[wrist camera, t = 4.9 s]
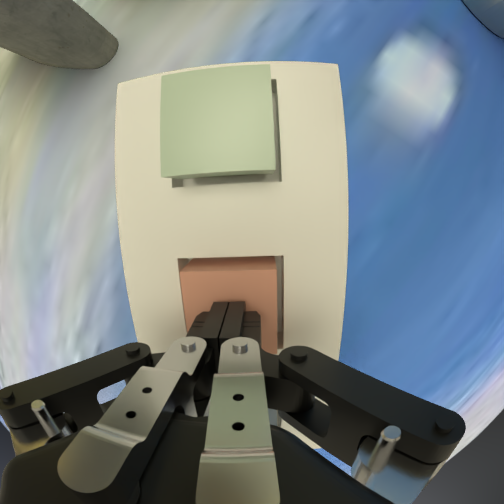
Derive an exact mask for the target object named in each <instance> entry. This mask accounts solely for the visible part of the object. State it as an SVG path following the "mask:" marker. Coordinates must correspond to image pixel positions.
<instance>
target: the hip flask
mask: <svg viewBox="0 0 504 504" xmlns="http://www.w3.org/2000/svg"><path fill="white" fill-rule="evenodd" d="M0 47H2V48H4V49H7V50H9V51H12V52H14V53H17V54H19V55H21V56H24V57H26V58H28V59H31V60H33V61H35V62H38V63H41V64H45V65H50V66H54V67H61V68H72V69H96V68H100V67H102V66H104V65H105V64H107V63H108V62H109V61H110V60H111V59H112V58H113V56H114V55H115V53H116V51H117V49H118V41H117V39H116V38H115V37H114V36H113V35H112V34H111V33H110V32H108V31H107V30H106V29H105V28H104V27H103V26H102V25H101V24H99V23H98V22H97V21H96V20H95V19H94V18H93V17H91V16H90V15H89V14H88V13H87V12H86V11H84V10H83V9H82V8H81V7H80V6H79V5H77V4H76V3H75V2H74V1H73V0H0Z"/></svg>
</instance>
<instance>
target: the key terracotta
mask: <svg viewBox="0 0 504 504" xmlns="http://www.w3.org/2000/svg"><path fill="white" fill-rule="evenodd" d="M180 281H181V290H182V298H183V305H184V313H185V320H186V327H187V333H188V331H189V329H190V327H191V325H192V323H193V321H194V319H195V317H196V316H197V315H199V314H200V313H201V312H203V311H206V312H209V311H210V309H211V306H212V304H213V302H229V303H230V302H235V301H245V303H246V311H257V312H258V313H259V315H260V316H261V343H262V344H261V348H262V349H263V350H264V351H266V352H268V353H271V354H277V268H276V262H275V257H274V256H246V257H210V258H193V259H192V260H191V261H190V262H189V263H188V264H187V265H186V266H185V267H184V268H183V269H182V270H181V271H180Z"/></svg>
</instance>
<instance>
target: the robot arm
mask: <svg viewBox="0 0 504 504" xmlns="http://www.w3.org/2000/svg"><path fill="white" fill-rule="evenodd" d="M463 2H464V3H465V4H466V6H467V7H468V8H469V9H470V10H471V12H472V13H473V14H474V15H475V16H476V17H477V18H478V19H479V20H480V21H481V22H482V23H483V24H484V25H485V26H486V27H487V28H488V29H490V30H491V31H492V32H493V33H495V34H496V35H498V36H499V37H502V38H504V0H463ZM261 344H262V343H261V316H260V315H259V313H258V312H257V311H246V303H245V301H235V302H230V303H229V302H213V304H212V306H211V309H210V311H209V312H206V311H203V312H201V313H200V314H199V315H197V316H196V317H195V319H194V321H193V323H192V325H191V327H190V329H189V331H188V333H187V335H186V337H183V338H180V339H177V340H175V341H174V342H173V343H172V344H171V345H170V347H169V348H168V350H167V351H166V352H163V353H154V354H151V349H150V347H149V346H148V345H147V344H145V343H140V342H135V343H129V344H126V345H123V346H120V347H118V348H115V349H113V350H110V351H107V352H105V353H102V354H100V355H97V356H94V357H92V358H89V359H86V360H83V361H81V362H78V363H75V364H72V365H70V366H67V367H64V368H61V369H58V370H56V371H53V372H50V373H47V374H44V375H41V376H38V377H35V378H32V379H29V380H26V381H23V382H20V383H17V384H14V385H11V386H8V387H5V388H3V389H1V390H0V415H1V416H2V418H3V419H4V421H5V424H6V425H7V427H8V428H9V430H10V433H11V438H12V442H13V446H14V450H15V454H16V457H15V458H13V459H12V460H11V461H10V462H9V463H8V464H7V466H6V467H5V469H4V471H3V475H2V481H1V490H0V504H411V503H412V502H413V501H414V500H415V498H416V497H417V496H418V494H419V493H420V492H421V491H422V490H423V489H424V488H425V487H426V486H427V485H428V483H429V482H430V481H431V480H432V479H433V477H434V476H435V475H436V474H437V472H438V471H439V470H440V468H441V467H442V466H443V464H444V463H445V462H446V460H447V459H448V458H449V456H450V455H451V453H452V452H453V450H454V449H455V448H456V446H457V445H458V443H459V441H460V440H461V438H462V437H463V435H464V433H465V429H466V426H465V422H464V420H463V418H462V417H461V416H460V415H459V414H457V413H456V412H454V411H452V410H449V409H446V408H444V407H441V406H439V405H436V404H434V403H431V402H429V401H426V400H424V399H421V398H419V397H416V396H414V395H412V394H409V393H407V392H405V391H402V390H400V389H398V388H395V387H393V386H391V385H388V384H386V383H384V382H382V381H380V380H377V379H375V378H373V377H371V376H369V375H366V374H364V373H362V372H360V371H358V370H356V369H354V368H351V367H349V366H347V365H345V364H343V363H341V362H339V361H337V360H335V359H333V358H331V357H329V356H327V355H325V354H323V353H321V352H319V351H317V350H315V349H313V348H310V347H307V346H291V347H288V348H285V349H283V350H282V351H281V352H280V354H279V355H275V354H271V353H268V352H266V351H264V350H263V349H262V348H261ZM122 380H125V383H126V386H125V388H124V389H123V390H122V392H121V393H120V394H119V395H118V397H117V398H115V399H113V400H110V401H108V402H106V403H103V404H99V402H98V400H97V394H98V392H99V391H100V390H101V389H103V388H105V387H108V386H110V385H112V384H115V383H117V382H119V381H122ZM315 396H316V397H317V398H319V399H321V400H322V401H324V402H325V403H326V404H327V405H328V406H327V405H326V404H324V403H322V402H321V401H319V400H317V399H316V398H315ZM268 408H269V409H274V410H278V414H279V416H280V417H281V418H282V419H283V420H284V421H286V422H287V423H288V424H289V425H291V426H292V427H293V428H295V429H296V430H298V431H299V432H300V433H302V434H303V435H304V436H306V437H307V438H309V439H310V440H311V441H313V442H314V443H316V444H317V445H319V446H320V447H321V448H323V449H324V450H326V451H327V452H329V453H330V454H332V455H333V456H335V457H336V458H338V459H340V460H341V461H343V462H344V463H346V464H347V465H349V466H351V467H352V468H351V476H352V477H351V476H350V475H348V474H347V473H345V472H344V471H342V470H341V469H340V468H338V467H337V466H335V465H334V464H333V463H331V462H330V461H328V460H327V459H326V458H324V457H323V456H322V455H320V454H319V453H318V452H316V451H315V450H314V449H312V448H311V447H310V446H308V445H307V444H306V443H305V442H303V441H302V440H301V439H300V438H298V437H297V436H296V435H294V434H293V433H291V432H289V431H287V430H285V429H283V428H281V427H278V426H275V425H271V424H270V423H269V414H268ZM63 412H65V413H63Z"/></svg>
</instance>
